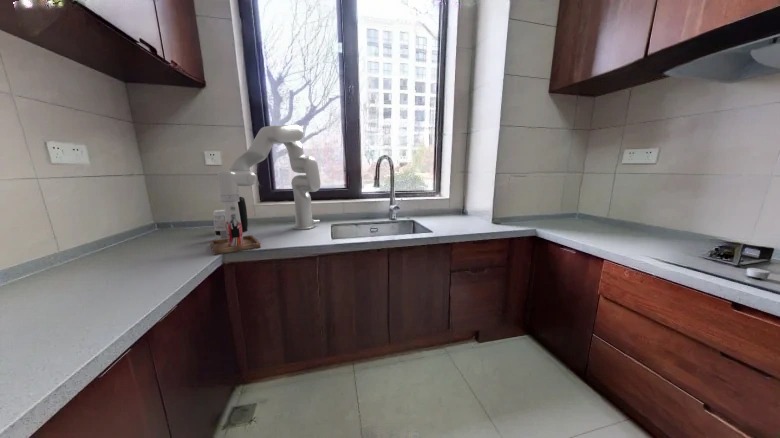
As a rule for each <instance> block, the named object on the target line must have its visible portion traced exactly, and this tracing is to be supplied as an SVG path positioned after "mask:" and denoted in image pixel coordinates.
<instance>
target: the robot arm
mask: <svg viewBox="0 0 780 438" xmlns="http://www.w3.org/2000/svg"><path fill="white" fill-rule="evenodd" d="M303 137H304V130H303V129H302V127H301V126H300V125H298V124H285V125H284V124H283V125H270V126H269V125H268V126H263V127H261V128H260V129H259V130H258V132H257V134H256V136H255V138H254V139H253V141H252V142H251V144H250V146H249V147H248V149H246V150H245V151H244V152H243V153H242V154H240V156H238V157H237V158H236V159H235V160H234V161H233V163H232V164H231V166H230V168H229V170H219V171H218V172H217V174H216V175H217V184H218V193H219V200H220V203H221V204H222V203H223V210H225V217H226V221H228V224H230V225H231V236H232V238H236V237H240V233H239V227H238V223H241V220H240V213H239V207H238V202H239V201H240V200H239V197H240V192H239V187H251V186H254V185H255V184H256V182H257V180H258V178H257V175H256V173H255V172H253V170H252V171H251V170H249V169H251V168H252V167H253V166H255V165H257V164H258V163H262V162H263V161H265V160H266V159H267V158H268V156H269V154H270V151H271V150H272V148H273V146H274V145H275V144H276V145H277V144H283V145H284V146H285V147H286V149H287V153H288V158H289V164H290V168H291V171H293V172H294V173H297V174H298V175H295V176H293V177H292V179H291V188H292V191H293V192H292V193H293V199H294V200H293V201H294V210H295V211H294V212H295V213H294V214H295V216H294V217H295V225H293V229H294V230H300V231H301V230H310V229H311V230H312V229H314V228H315V227H316V224H320V223H321V221H320V219H313V213H312V212H313V211H312V210H313V209H312V208H313V207H312V198H311V197H312V196H311V194H310V192H311V193H316V192H318V191H319V190H320V188H321V177H320V169H319V165H318V162H317V160H316V159H315V158H314V157H313V156H311V155H305V151H304V148H303V144H302V142H301V140H302V139H303ZM237 221H238V222H237Z"/></svg>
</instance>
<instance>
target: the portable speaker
mask: <svg viewBox="0 0 780 438" xmlns="http://www.w3.org/2000/svg"><path fill="white" fill-rule="evenodd" d="M239 200H240V201H239V202H238V207H239V213H240V220H241V224H242V232H243V231H245V232H247V231H248V227H249V225H248V224H249V222H248V219H249V218H248V212H247V211H248V210H247V205H246V200H245V197H243V196H239Z"/></svg>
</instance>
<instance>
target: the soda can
mask: <svg viewBox="0 0 780 438" xmlns="http://www.w3.org/2000/svg"><path fill="white" fill-rule="evenodd" d="M237 222H238V221H237ZM238 227H239V233H240V237H236V238H232V236H231V225H230V224H228V221H227V222H226V231H227V239H228V245H229V246H230V247H235V246H241V245H243V244H244V243H243V236H244V235H243V231H242V224H241V223H238Z"/></svg>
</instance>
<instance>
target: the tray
mask: <svg viewBox="0 0 780 438" xmlns="http://www.w3.org/2000/svg"><path fill="white" fill-rule="evenodd" d="M209 242H210V247H211V250H212V252H213V255H214V256H218V255H224V254H225V255H226V254H230V253H231V254H232V253H236V252H244V251H249V250H248V249H250V250H253V249H254V248H256V249H260V247H262V246H261V242H260V241H258V239H257V238H256V237H255V236H253V234H251V235H243V243H244V244H243V245H241V246H235V247H230V246H229V245H228V239H221V240H216V239H213V240H210V241H209Z"/></svg>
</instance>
